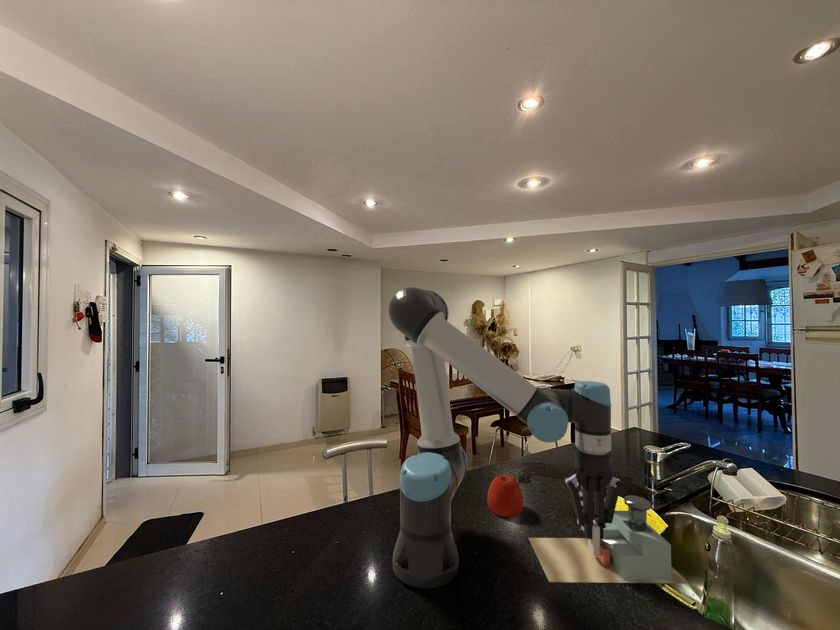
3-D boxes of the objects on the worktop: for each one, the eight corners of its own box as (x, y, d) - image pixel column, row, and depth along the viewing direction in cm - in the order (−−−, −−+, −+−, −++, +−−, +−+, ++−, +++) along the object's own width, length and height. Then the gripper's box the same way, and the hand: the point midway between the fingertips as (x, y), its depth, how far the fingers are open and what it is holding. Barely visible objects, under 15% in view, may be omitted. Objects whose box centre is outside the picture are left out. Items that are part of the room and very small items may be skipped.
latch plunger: (632, 532, 79) (632, 506, 79) (619, 519, 84) (619, 495, 84) (656, 533, 78) (655, 506, 79) (641, 519, 84) (641, 495, 84)
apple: (508, 500, 109) (508, 466, 109) (531, 517, 100) (531, 480, 100) (480, 507, 105) (480, 472, 105) (501, 526, 96) (501, 487, 96)
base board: (549, 586, 74) (549, 581, 74) (528, 541, 89) (528, 537, 89) (688, 587, 73) (688, 583, 73) (643, 542, 88) (643, 538, 88)
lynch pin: (603, 567, 78) (603, 549, 78) (590, 548, 84) (590, 532, 85) (664, 568, 78) (664, 549, 78) (646, 549, 84) (646, 532, 84)
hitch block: (623, 579, 74) (623, 544, 75) (593, 540, 88) (593, 510, 88) (671, 580, 74) (670, 544, 74) (633, 540, 88) (633, 510, 88)
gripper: (571, 455, 78) (572, 563, 77) (630, 455, 78) (631, 563, 77) (558, 443, 85) (559, 541, 85) (612, 443, 85) (613, 542, 85)
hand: (593, 551), depth 81 cm, fingers closed
